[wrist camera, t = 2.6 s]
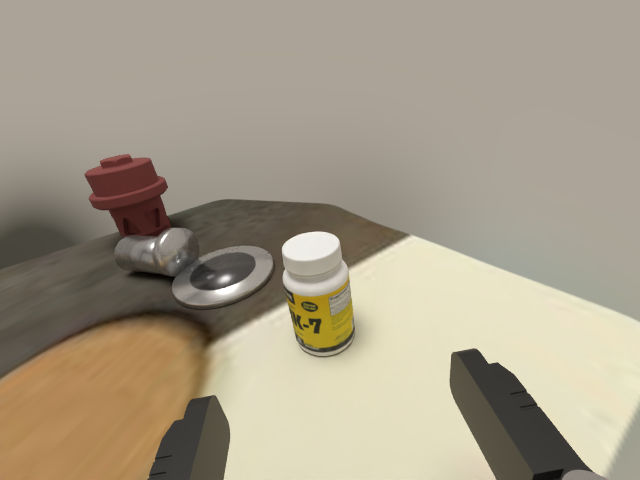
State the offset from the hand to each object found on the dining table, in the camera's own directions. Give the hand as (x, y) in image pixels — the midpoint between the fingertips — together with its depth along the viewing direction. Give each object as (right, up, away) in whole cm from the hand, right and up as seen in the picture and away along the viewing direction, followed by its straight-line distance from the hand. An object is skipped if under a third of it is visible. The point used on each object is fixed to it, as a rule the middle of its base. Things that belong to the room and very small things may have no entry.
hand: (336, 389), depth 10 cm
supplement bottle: (0, -3, +14) cm, 15 cm away
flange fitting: (-15, +1, +26) cm, 30 cm away
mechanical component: (-27, +5, +38) cm, 47 cm away
